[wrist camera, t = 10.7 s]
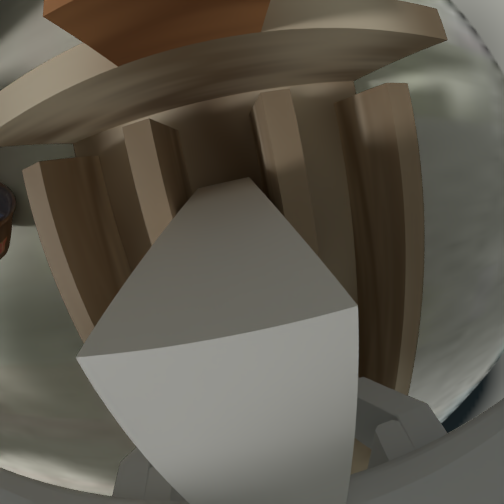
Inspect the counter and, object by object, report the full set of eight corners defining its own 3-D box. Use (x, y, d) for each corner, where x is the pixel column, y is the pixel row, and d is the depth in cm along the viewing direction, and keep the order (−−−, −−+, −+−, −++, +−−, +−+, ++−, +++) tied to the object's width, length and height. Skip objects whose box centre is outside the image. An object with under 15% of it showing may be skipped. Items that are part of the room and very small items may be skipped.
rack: (188, 422, 19) (179, 560, 8) (80, 125, 12) (-110, 122, 2) (366, 385, 19) (430, 509, 8) (339, 67, 12) (509, -24, 2)
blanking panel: (253, 395, 15) (277, 570, 5) (197, 188, 11) (75, 358, 2) (289, 388, 15) (334, 558, 5) (248, 176, 11) (356, 305, 2)
